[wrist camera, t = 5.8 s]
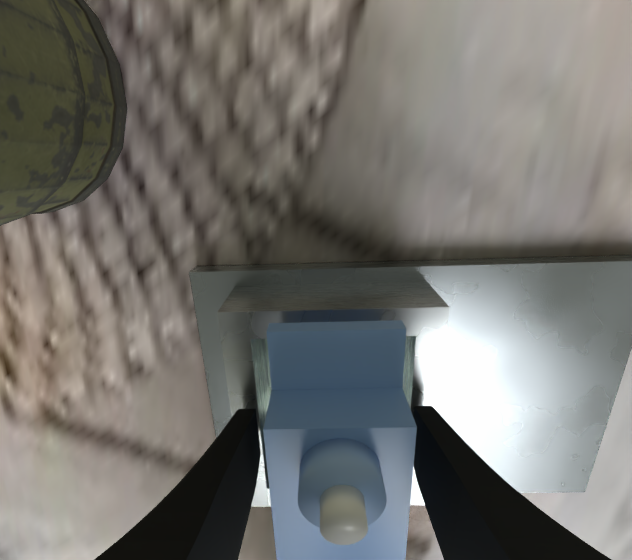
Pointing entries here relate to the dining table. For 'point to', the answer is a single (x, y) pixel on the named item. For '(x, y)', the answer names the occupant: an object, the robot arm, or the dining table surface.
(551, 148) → the dining table surface
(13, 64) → the thermos
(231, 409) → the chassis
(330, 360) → the servo
